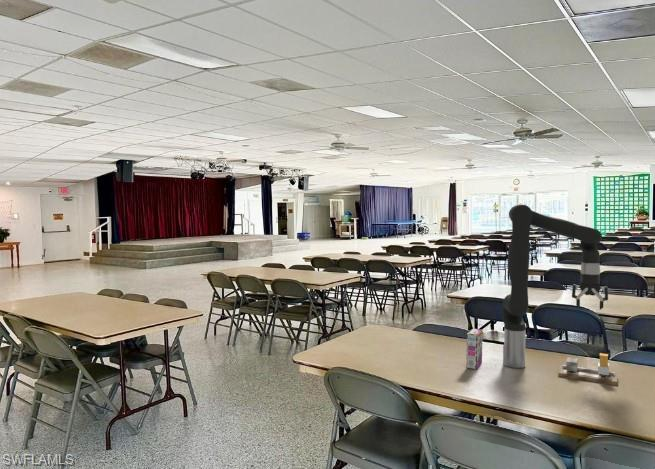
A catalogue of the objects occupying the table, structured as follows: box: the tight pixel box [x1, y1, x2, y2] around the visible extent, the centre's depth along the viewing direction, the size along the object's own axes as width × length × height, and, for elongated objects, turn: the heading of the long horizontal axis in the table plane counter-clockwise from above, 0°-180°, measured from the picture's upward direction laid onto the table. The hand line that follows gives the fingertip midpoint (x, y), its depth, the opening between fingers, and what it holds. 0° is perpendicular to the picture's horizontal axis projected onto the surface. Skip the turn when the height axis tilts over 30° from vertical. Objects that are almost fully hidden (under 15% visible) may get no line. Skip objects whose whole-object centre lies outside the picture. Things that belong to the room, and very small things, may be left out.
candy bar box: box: [465, 328, 484, 371], centre depth 220 cm, size 11×5×16 cm, turn 149°
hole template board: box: [557, 357, 618, 386], centre depth 204 cm, size 22×10×6 cm, turn 59°
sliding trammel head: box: [597, 352, 610, 376], centre depth 201 cm, size 4×6×9 cm, turn 149°
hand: (589, 308), depth 212 cm, fingers open, 8 cm apart
